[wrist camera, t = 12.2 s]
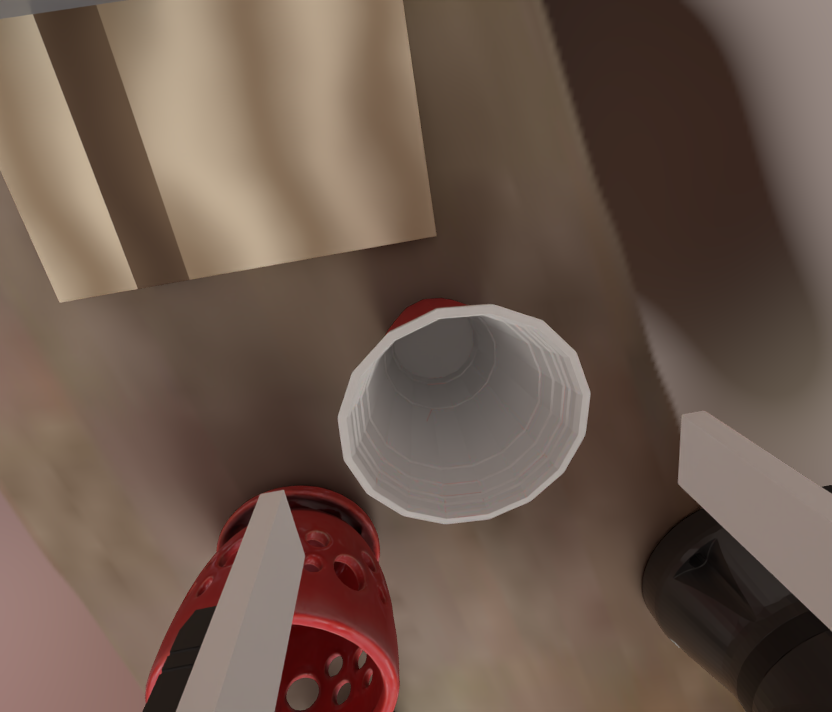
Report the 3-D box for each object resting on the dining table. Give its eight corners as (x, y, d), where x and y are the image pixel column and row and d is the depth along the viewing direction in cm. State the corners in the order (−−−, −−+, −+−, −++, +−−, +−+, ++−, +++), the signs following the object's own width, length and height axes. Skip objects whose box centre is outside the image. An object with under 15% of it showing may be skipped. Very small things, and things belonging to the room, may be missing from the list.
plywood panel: (369, -207, 21) (368, -237, 19) (433, 234, 27) (436, 236, 26) (-110, -132, 20) (-147, -158, 19) (76, 297, 27) (59, 302, 26)
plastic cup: (378, 433, 32) (379, 562, 20) (330, 287, 28) (298, 347, 17) (526, 393, 32) (609, 500, 20) (497, 241, 28) (578, 270, 17)
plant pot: (206, 590, 35) (125, 775, 24) (237, 450, 31) (158, 592, 20) (366, 617, 37) (362, 797, 26) (414, 489, 34) (433, 636, 22)
